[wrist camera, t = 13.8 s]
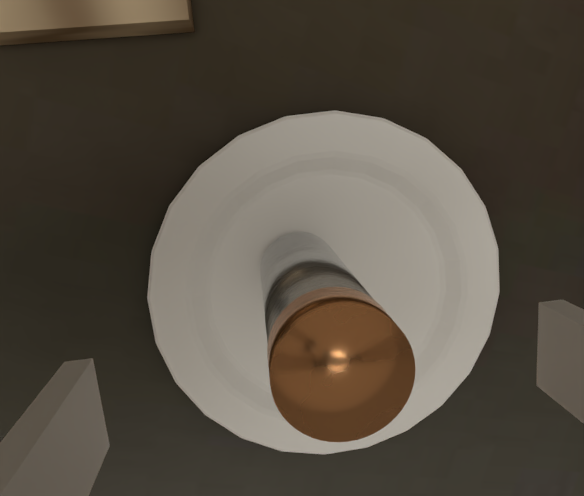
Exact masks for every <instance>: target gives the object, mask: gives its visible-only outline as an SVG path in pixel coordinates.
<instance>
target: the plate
mask: <svg viewBox="0 0 584 496" xmlns="http://www.w3.org/2000/svg"><path fill="white" fill-rule="evenodd" d="M291 232H308V233H311V234H314V235H316V236H318V237H320V238H321V239H323V240H324V241H325V242H326V243H327V244H328V245H329V246H330V247H331V249H332V250H333V251H334V252H335V253H336V255H337V256H338V257H339V258H340V259H341V261H342V262H343V263H344V264H345V265H346V267H347V268H348V269H349V270H350V271H351V273H352V274H353V275H354V276H355V277H356V279H357V280H358V281H359V282H360V284H361V285H362V286H363V287H364V288H365V290H366V291H367V292H368V293H369V294H370V296H371V297H372V298H373V299H374V300H375V301H376V302H377V303H378V304H379V305H381V307H382V308H383V309H384V310H385V311H386V312H387V314H388V315H389V316H390V317H391V318H392V320H393V321H394V322H395V323H396V324H397V326H398V327H399V328H400V329H401V330H402V332H403V333H404V334H405V336H406V338H407V339H408V341H409V343H410V345H411V348H412V350H413V354H414V358H415V380H414V385H413V388H412V392H411V394H410V397H409V399H408V401H407V403H406V404H405V406H404V407H403V409H402V410H401V412H400V413H399V414H398V415H397V417H395V418H394V419H393V420H392V421H391V422H390V423H389V424H388V425H387V426H385V427H384V428H383V429H381V430H379V431H378V432H376V433H374V434H372V435H370V436H367V437H365V438H362V439H358V440H354V441H349V442H327V441H321V440H318V439H314V438H311V437H309V436H307V435H305V434H303V433H301V432H300V431H298V430H296V429H295V428H294V427H293V426H291V425H290V424H289V423H288V422H287V421H286V420H285V419H284V417H283V416H282V415H281V413H280V412H279V410H278V408H277V406H276V404H275V402H274V399H273V396H272V392H271V387H270V377H269V367H268V357H267V346H268V343H267V334H266V324H265V315H264V305H263V296H262V286H261V277H260V264H261V260H262V257H263V254H264V253H265V251H266V249H267V248H268V246H269V245H270V244H271V243H272V242H273V241H275V240H276V239H277V238H279V237H280V236H283V235H285V234H288V233H291ZM499 293H500V291H499V254H498V246H497V243H496V239H495V236H494V233H493V230H492V226H491V223H490V220H489V216H488V213H487V210H486V207H485V205H484V203H483V202H482V200H481V199H480V197H479V196H478V194H477V193H476V191H475V189H474V188H473V186H472V185H471V183H470V182H469V180H468V178H467V177H466V175H465V174H464V172H463V171H462V169H461V168H460V167H459V166H458V165H456V164H455V163H454V162H453V161H452V160H451V159H450V158H448V157H447V156H446V155H445V154H444V153H443V152H442V151H440V150H439V149H438V148H437V147H436V146H435V145H434V144H432V143H431V142H430V141H429V140H428V139H427V138H425V137H423V136H421V135H418V134H416V133H414V132H412V131H410V130H408V129H406V128H403V127H401V126H399V125H397V124H395V123H393V122H391V121H389V120H386V119H384V118H379V117H373V116H367V115H361V114H355V113H348V112H342V111H336V110H334V111H326V112H317V113H309V114H300V115H291V116H285V117H282V118H280V119H277V120H275V121H273V122H270V123H268V124H265V125H263V126H260V127H258V128H255V129H253V130H250V131H248V132H246V133H243V134H241V135H238V136H237V137H236V138H235V139H233V140H232V141H231V142H229V143H228V144H227V145H225V146H224V147H223V148H222V149H220V150H219V151H218V152H216V153H215V154H214V155H213V156H211V157H210V158H209V159H207V160H206V161H205V162H203V163H202V164H201V165H200V166H198V168H197V169H196V170H195V172H194V173H193V174H192V176H191V177H190V178H189V180H188V181H187V183H186V184H185V185H184V187H183V188H182V189H181V191H180V192H179V193H178V195H177V196H176V197H175V199H174V200H173V201H172V203H171V204H170V205H169V207H168V210H167V212H166V215H165V217H164V220H163V223H162V225H161V228H160V230H159V233H158V236H157V238H156V241H155V243H154V246H153V249H152V251H151V262H150V273H149V283H148V294H147V300H148V305H149V310H150V316H151V321H152V326H153V332H154V337H155V342H156V345H157V347H158V349H159V351H160V353H161V355H162V357H163V359H164V361H165V363H166V365H167V366H168V368H169V370H170V372H171V374H172V376H173V378H174V380H175V382H176V384H177V385H178V386H179V387H180V388H181V389H182V390H183V391H184V392H185V394H186V395H187V396H188V397H189V398H190V399H191V400H192V401H193V402H194V403H195V405H196V406H197V407H198V408H199V409H200V410H201V411H202V412H203V413H204V414H205V415H206V416H207V417H209V418H211V419H212V420H214V421H215V422H217V423H218V424H220V425H221V426H223V427H225V428H226V429H228V430H229V431H231V432H232V433H234V434H236V435H237V436H239V437H240V438H242V439H245V440H248V441H252V442H255V443H258V444H261V445H264V446H267V447H270V448H273V449H276V450H279V451H283V452H297V453H311V454H331V453H337V452H343V451H349V450H355V449H361V448H367V447H369V446H372V445H374V444H377V443H379V442H381V441H384V440H386V439H388V438H391V437H393V436H396V435H398V434H400V433H403V432H405V431H407V430H409V429H410V428H411V427H413V426H414V425H416V424H417V423H418V422H420V421H421V420H422V419H424V418H425V417H427V416H428V415H429V414H431V413H432V412H434V411H435V410H436V409H438V408H439V407H440V406H442V405H443V404H444V402H445V401H446V400H447V399H448V398H449V397H450V395H451V394H452V393H453V392H454V391H455V390H456V388H457V387H458V386H459V385H460V384H461V383H462V382H463V380H464V379H465V378H466V377H467V376H468V375H469V373H470V372H471V370H472V368H473V366H474V364H475V362H476V360H477V358H478V356H479V354H480V352H481V350H482V349H483V347H484V345H485V343H486V341H487V339H488V337H489V335H490V331H491V327H492V323H493V318H494V314H495V310H496V305H497V301H498V297H499Z"/></svg>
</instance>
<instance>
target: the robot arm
mask: <svg viewBox="0 0 584 496" xmlns="http://www.w3.org/2000/svg"><path fill="white" fill-rule="evenodd" d="M536 385H537V386H538V387H539V388H540V389H541V390H543V391H544V392H545V393H546V394H548V395H549V396H550V397H551V398H553V399H554V400H555V401H556V402H558V403H559V404H560V405H561V406H563V407H564V408H565V409H566V410H568V411H569V412H570V413H571V414H572V415H574V416H575V417H576V418H577V419H579V420H580V421H581V422H582V423H584V310H583V309H581V308H579V307H577V306H575V305H573V304H571V303H569V302H567V301H565V300H555V301H547V302H539V313H538V348H537V383H536ZM109 446H110V445H109V440H108V435H107V429H106V424H105V419H104V414H103V409H102V403H101V398H100V393H99V388H98V383H97V377H96V372H95V367H94V362H93V358H91V359H83V360H75V361H67V362H64V363H63V364H62V365H61V367H60V368H59V369H58V370H57V372H56V373H55V374H54V376H53V377H52V378H51V379H50V381H49V382H48V383H47V384H46V386H45V387H44V388H43V389H42V391H41V392H40V393H39V394H38V396H37V397H36V398H35V399H34V401H33V402H32V403H31V405H30V406H29V407H28V408H27V410H26V411H25V412H24V413H23V415H22V416H21V417H20V418H19V420H18V421H17V422H16V423H15V425H14V426H13V427H12V428H11V430H10V431H9V432H8V434H7V435H6V436H5V437H4V439H3V440H2V441H1V442H0V496H89V493H90V491H91V489H92V486H93V484H94V482H95V479H96V477H97V474H98V472H99V470H100V467H101V465H102V463H103V460H104V458H105V455H106V453H107V451H108V448H109Z"/></svg>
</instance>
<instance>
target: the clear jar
mask: <svg viewBox="0 0 584 496" xmlns="http://www.w3.org/2000/svg"><path fill="white" fill-rule="evenodd" d="M260 277H261V286H262V296H263V305H264V315H265V324H266V334H267V343H268V346H267V357H268V367H269V377H270V387H271V392H272V396H273V399H274V402H275V404H276V406H277V408H278V410H279V412H280V413H281V415H282V416H283V417H284V419H285V420H286V421H287V422H288V423H289V424H290V425H291V426H293V427H294V428H295V429H296V430H298V431H300V432H301V433H303V434H305V435H307V436H309V437H311V438H314V439H318V440H321V441H327V442H349V441H354V440H358V439H362V438H365V437H367V436H370V435H372V434H374V433H376V432H378V431H379V430H381V429H383V428H384V427H385V426H387V425H388V424H389V423H390V422H391V421H392V420H393V419H394V418H395V417H397V415H398V414H399V413H400V412H401V410H402V409H403V407H404V406H405V404H406V403H407V401H408V399H409V397H410V394H411V392H412V388H413V385H414V380H415V358H414V354H413V350H412V348H411V345H410V343H409V341H408V339H407V338H406V336H405V334H404V333H403V332H402V330H401V329H400V328H399V327H398V326H397V324H396V323H395V322H394V321H393V320H392V318H391V317H390V316H389V315H388V314H387V312H386V311H385V310H384V309H383V308H382V307H381V305H379V304H378V303H377V302H376V301H375V300H374V299H373V298H372V297H371V296H370V294H369V293H368V292H367V291H366V290H365V288H364V287H363V286H362V285H361V284H360V282H359V281H358V280H357V279H356V277H355V276H354V275H353V274H352V273H351V271H350V270H349V269H348V268H347V267H346V265H345V264H344V263H343V262H342V261H341V259H340V258H339V257H338V256H337V255H336V253H335V252H334V251H333V250H332V249H331V247H330V246H329V245H328V244H327V243H326V242H325V241H324V240H323V239H321V238H320V237H318V236H316V235H314V234H311V233H308V232H291V233H288V234H285V235H283V236H280V237H279V238H277V239H276V240H275V241H273V242H272V243H271V244H270V245H269V246H268V248H267V249H266V251H265V253H264V254H263V257H262V260H261V264H260Z"/></svg>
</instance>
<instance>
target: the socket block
mask: <svg viewBox="0 0 584 496" xmlns="http://www.w3.org/2000/svg"><path fill="white" fill-rule="evenodd" d="M186 32H195V31H194V23H193V15H192V7H191V0H0V46H1V45H15V44H29V43H43V42H58V41H72V40H86V39H100V38H114V37H129V36H143V35H157V34H171V33H186Z"/></svg>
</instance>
